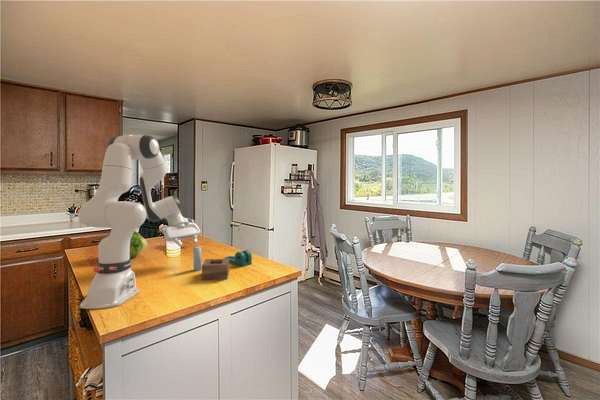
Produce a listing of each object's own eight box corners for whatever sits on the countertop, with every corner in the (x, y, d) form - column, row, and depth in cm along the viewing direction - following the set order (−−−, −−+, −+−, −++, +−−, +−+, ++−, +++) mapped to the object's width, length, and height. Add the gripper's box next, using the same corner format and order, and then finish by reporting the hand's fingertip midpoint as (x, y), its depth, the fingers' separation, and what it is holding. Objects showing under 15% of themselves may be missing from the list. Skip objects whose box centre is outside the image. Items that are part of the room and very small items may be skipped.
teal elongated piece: (251, 264, 171) (251, 251, 171) (242, 267, 166) (242, 253, 165) (231, 259, 182) (231, 246, 182) (222, 261, 177) (222, 248, 176)
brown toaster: (227, 279, 145) (227, 265, 145) (201, 280, 143) (201, 265, 143) (229, 271, 157) (229, 258, 156) (205, 272, 155) (205, 259, 155)
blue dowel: (200, 270, 157) (200, 248, 157) (192, 271, 157) (192, 248, 156) (202, 268, 161) (201, 246, 161) (194, 268, 161) (194, 247, 160)
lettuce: (152, 258, 183) (153, 228, 186) (111, 260, 165) (113, 228, 167) (137, 257, 195) (138, 229, 197) (96, 260, 176) (98, 229, 178)
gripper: (162, 223, 158) (173, 243, 153) (195, 219, 175) (206, 237, 170) (158, 230, 161) (168, 251, 156) (191, 226, 177) (201, 244, 172)
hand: (188, 244), depth 163 cm, fingers open, 8 cm apart
